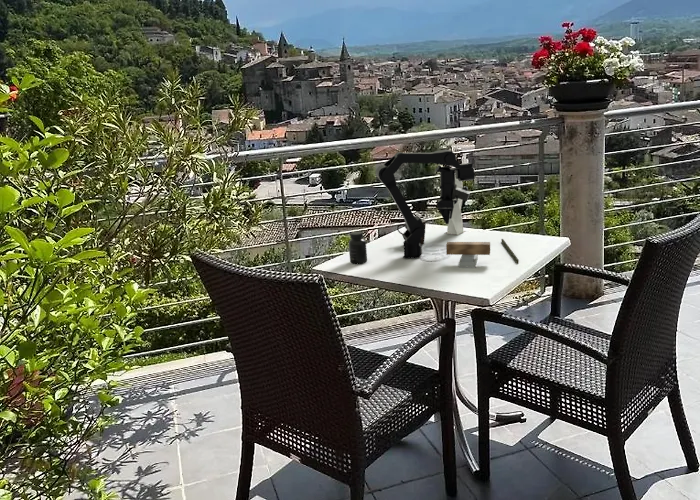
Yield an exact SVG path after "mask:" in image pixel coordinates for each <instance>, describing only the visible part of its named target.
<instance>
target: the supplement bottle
mask: <svg viewBox="0 0 700 500" xmlns="http://www.w3.org/2000/svg"><path fill="white" fill-rule="evenodd" d="M363 234H364V233H363V231H353V232H350V240H348V250H349V262H350V263H351V264H352V265H364V264H366V263H367V261H368V253H367V241H366V240H365V238H364V235H363Z"/></svg>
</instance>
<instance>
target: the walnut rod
mask: <svg viewBox="0 0 700 500" xmlns="http://www.w3.org/2000/svg"><path fill="white" fill-rule="evenodd" d="M445 250H446V251H445V252H446V255H453V256H454V255H455V256H456V255H457V256H459V255H460V256H462V255H478V256H491V241H447V242H446V244H445Z"/></svg>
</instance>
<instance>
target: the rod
mask: <svg viewBox="0 0 700 500" xmlns="http://www.w3.org/2000/svg"><path fill="white" fill-rule="evenodd" d="M500 240H501V243H502V246H504V248H505V249H506V251H507V252H508V253H509V255H510V256H511V258H513V260H514V261H515V262H516V264H519V259H518V256H517V255H516V254H515V253H514V252H513V251H512V249H511V248H510V247H509V245H508V244H507V242H506V241H505V240H504V238H501V239H500Z"/></svg>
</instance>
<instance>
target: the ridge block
mask: <svg viewBox="0 0 700 500" xmlns="http://www.w3.org/2000/svg"><path fill="white" fill-rule="evenodd" d="M478 257H479V255H460V258H459V261H458V267H459V268H476V266H477V263H478V260H479V258H478Z"/></svg>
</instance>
